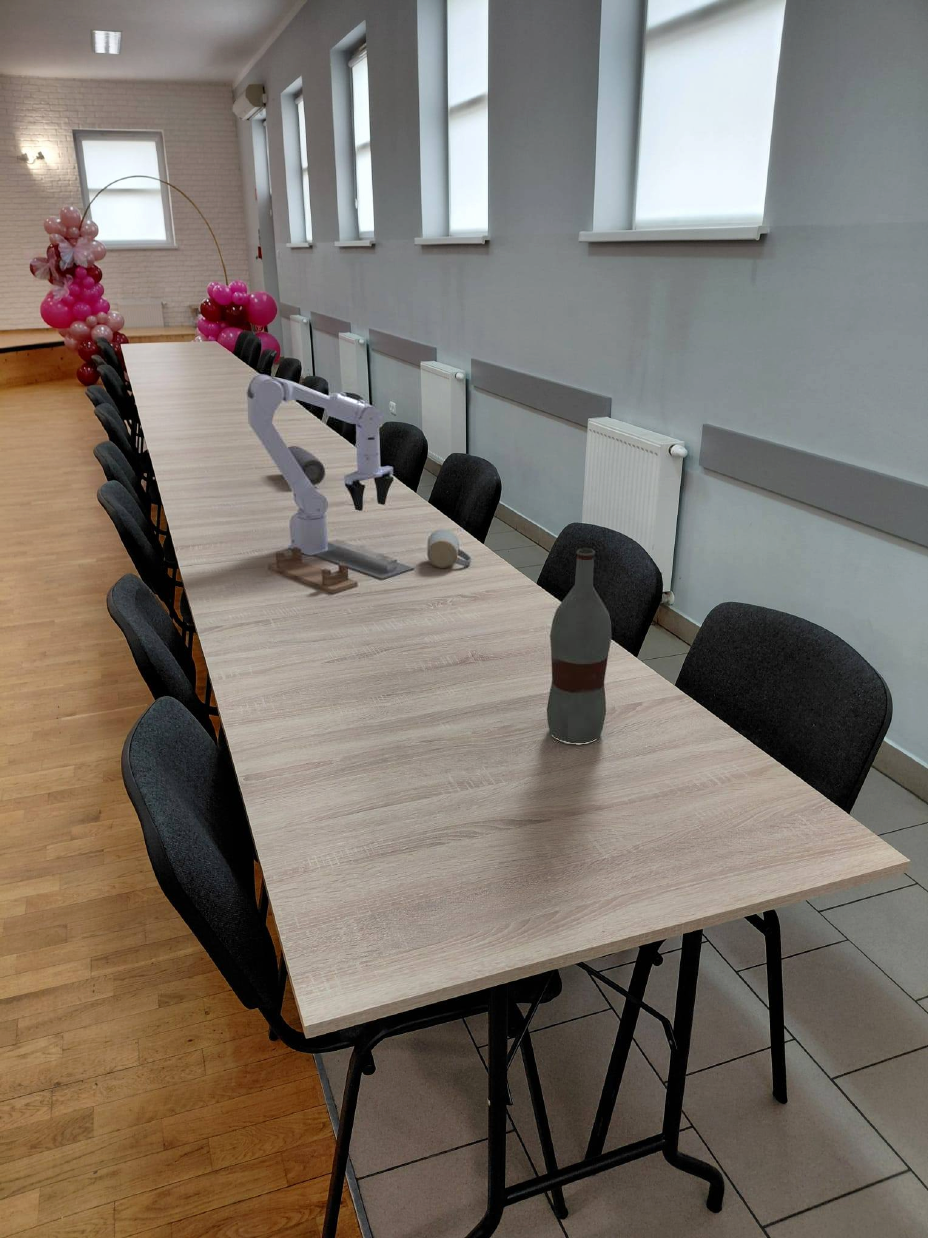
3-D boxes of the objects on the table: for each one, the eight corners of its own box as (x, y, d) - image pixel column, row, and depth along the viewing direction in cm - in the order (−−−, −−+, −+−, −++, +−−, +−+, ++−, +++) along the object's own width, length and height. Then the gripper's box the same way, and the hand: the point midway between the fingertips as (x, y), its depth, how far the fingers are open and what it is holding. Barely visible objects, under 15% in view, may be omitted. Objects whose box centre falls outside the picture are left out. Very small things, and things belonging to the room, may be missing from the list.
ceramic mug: (426, 569, 212) (427, 538, 209) (427, 558, 220) (427, 528, 217) (471, 570, 212) (472, 539, 209) (470, 559, 220) (471, 529, 217)
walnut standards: (268, 568, 212) (267, 550, 210) (292, 561, 217) (291, 544, 215) (333, 593, 197) (332, 574, 195) (357, 585, 202) (356, 567, 200)
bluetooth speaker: (280, 475, 299) (278, 445, 295) (307, 472, 303) (306, 442, 299) (298, 490, 280) (296, 459, 276) (327, 487, 284) (326, 456, 280)
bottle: (567, 712, 147) (576, 537, 136) (615, 730, 142) (630, 549, 130) (534, 734, 141) (541, 552, 129) (583, 754, 135) (595, 565, 124)
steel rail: (327, 551, 223) (327, 542, 222) (337, 549, 225) (336, 539, 224) (387, 572, 209) (387, 562, 208) (397, 569, 211) (396, 559, 210)
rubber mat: (306, 553, 223) (306, 551, 223) (337, 544, 230) (337, 542, 230) (382, 579, 205) (382, 578, 205) (413, 569, 212) (413, 567, 212)
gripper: (356, 460, 215) (358, 515, 220) (400, 451, 225) (401, 504, 230) (337, 456, 220) (340, 510, 225) (381, 447, 229) (383, 499, 235)
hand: (370, 506), depth 228 cm, fingers open, 7 cm apart
